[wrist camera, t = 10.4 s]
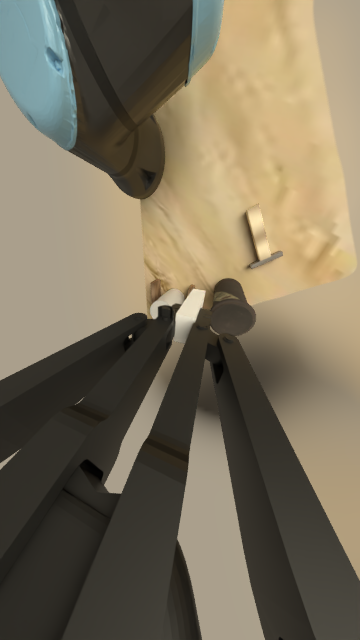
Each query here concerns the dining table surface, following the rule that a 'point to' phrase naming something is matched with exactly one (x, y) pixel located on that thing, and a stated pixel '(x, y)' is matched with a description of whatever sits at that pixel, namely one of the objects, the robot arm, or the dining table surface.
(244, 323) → the container
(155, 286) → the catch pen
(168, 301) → the white cylinder
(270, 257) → the scraper
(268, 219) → the dining table surface
